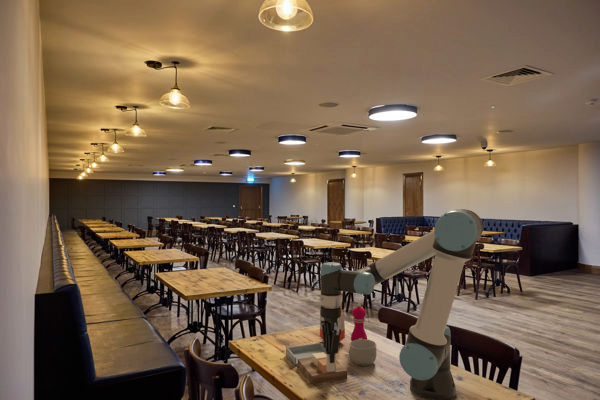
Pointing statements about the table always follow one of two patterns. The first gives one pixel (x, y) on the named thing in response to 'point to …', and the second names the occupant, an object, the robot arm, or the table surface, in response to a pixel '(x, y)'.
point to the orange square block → (324, 366)
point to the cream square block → (318, 357)
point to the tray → (303, 351)
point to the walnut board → (316, 375)
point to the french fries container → (340, 325)
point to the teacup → (363, 351)
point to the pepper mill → (358, 323)
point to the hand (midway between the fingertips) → (330, 370)
